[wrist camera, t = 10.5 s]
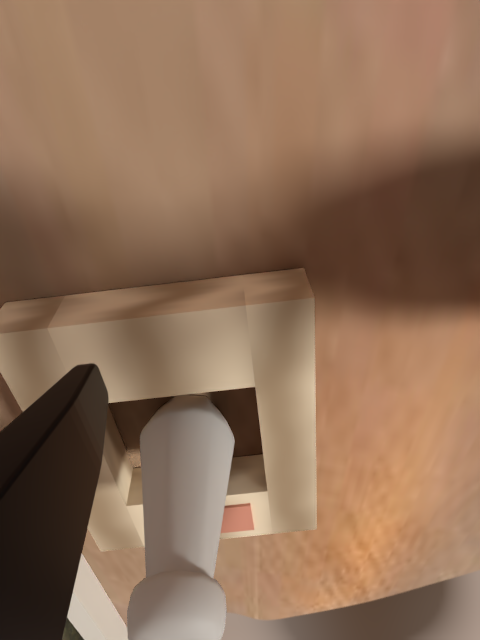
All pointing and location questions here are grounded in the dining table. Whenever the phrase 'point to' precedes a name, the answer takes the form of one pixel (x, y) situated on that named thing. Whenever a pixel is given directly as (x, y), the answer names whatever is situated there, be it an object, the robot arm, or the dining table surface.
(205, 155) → the dining table surface
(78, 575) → the white rectangular tray
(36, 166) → the dining table surface
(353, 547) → the dining table surface
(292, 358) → the maple frame
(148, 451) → the salt shaker
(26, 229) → the dining table surface
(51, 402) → the robot arm
